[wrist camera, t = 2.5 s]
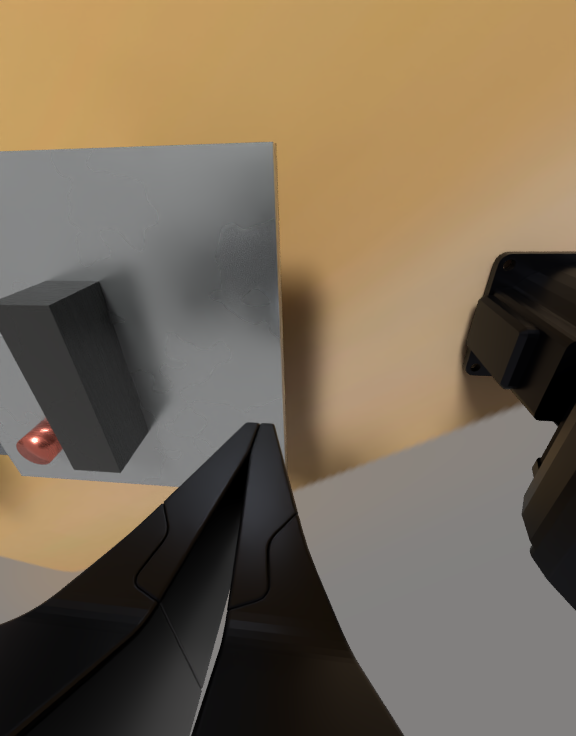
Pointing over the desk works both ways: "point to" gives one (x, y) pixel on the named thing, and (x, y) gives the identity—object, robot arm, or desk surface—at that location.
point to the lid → (138, 308)
